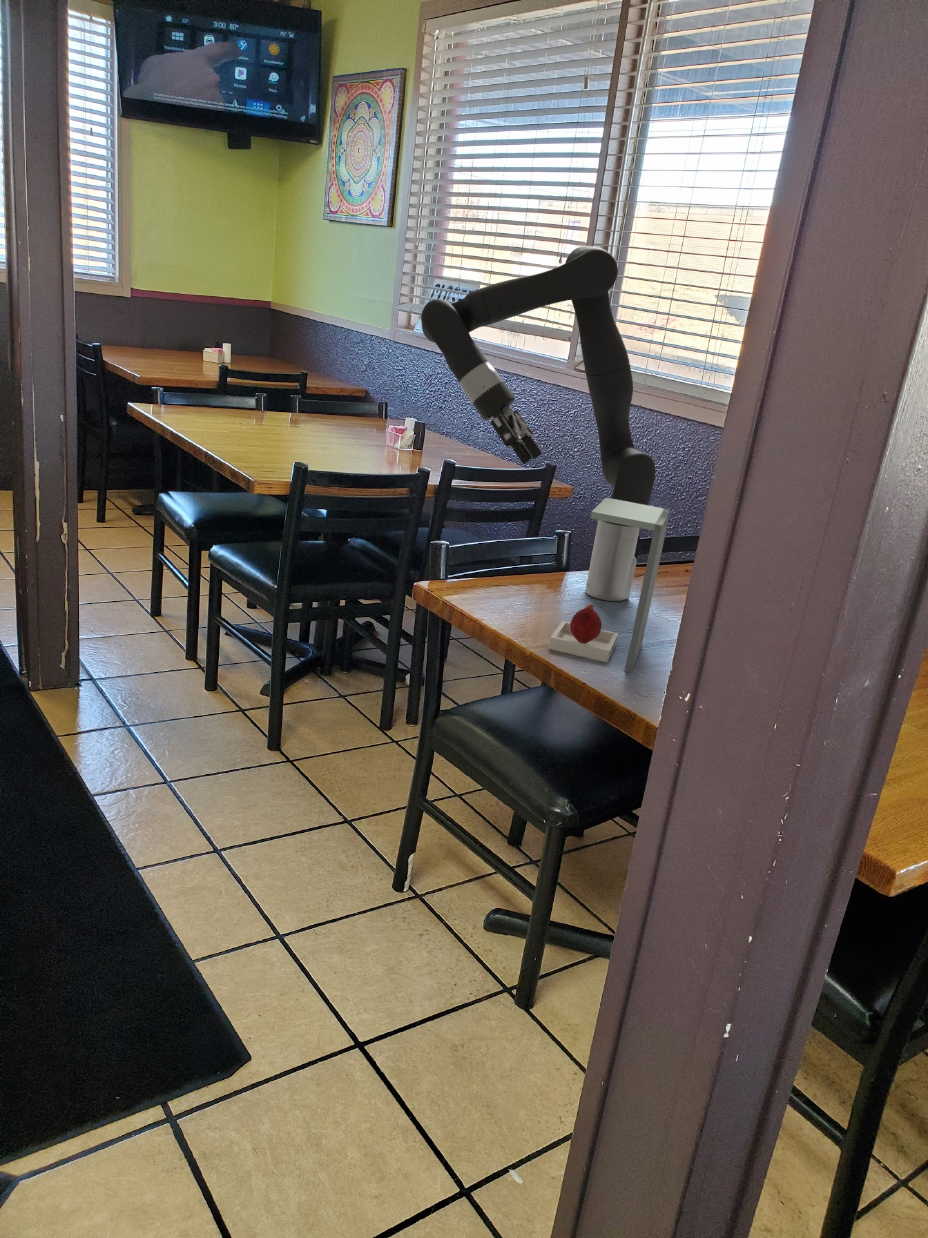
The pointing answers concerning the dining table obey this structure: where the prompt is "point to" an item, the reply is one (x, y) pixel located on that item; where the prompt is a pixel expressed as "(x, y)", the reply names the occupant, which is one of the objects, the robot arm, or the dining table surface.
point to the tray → (593, 649)
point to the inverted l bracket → (658, 523)
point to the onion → (585, 624)
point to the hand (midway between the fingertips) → (533, 458)
